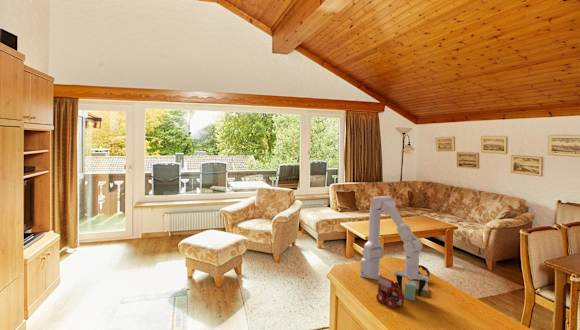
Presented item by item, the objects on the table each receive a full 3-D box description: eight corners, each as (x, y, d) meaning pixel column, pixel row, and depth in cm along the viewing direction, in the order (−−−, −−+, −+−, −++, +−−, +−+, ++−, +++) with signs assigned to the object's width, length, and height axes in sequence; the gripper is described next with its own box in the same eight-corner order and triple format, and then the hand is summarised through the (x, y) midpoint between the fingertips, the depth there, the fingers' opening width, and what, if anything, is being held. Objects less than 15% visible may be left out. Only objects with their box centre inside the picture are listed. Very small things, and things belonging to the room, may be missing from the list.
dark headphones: (420, 275, 166) (428, 265, 162) (425, 290, 158) (434, 280, 154) (400, 269, 165) (407, 259, 161) (403, 284, 157) (411, 274, 153)
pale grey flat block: (409, 293, 146) (410, 287, 145) (409, 286, 153) (410, 280, 153) (428, 297, 143) (428, 291, 142) (427, 289, 150) (427, 283, 150)
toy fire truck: (397, 312, 129) (399, 288, 128) (373, 299, 138) (374, 277, 138) (406, 306, 133) (408, 283, 132) (381, 294, 143) (383, 273, 142)
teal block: (404, 298, 140) (405, 285, 140) (404, 293, 144) (405, 281, 144) (414, 300, 138) (415, 287, 138) (414, 296, 143) (415, 283, 142)
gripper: (394, 265, 139) (392, 294, 140) (429, 271, 134) (427, 301, 135) (395, 259, 145) (393, 287, 147) (428, 265, 140) (426, 293, 141)
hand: (409, 293), depth 141 cm, fingers open, 7 cm apart
